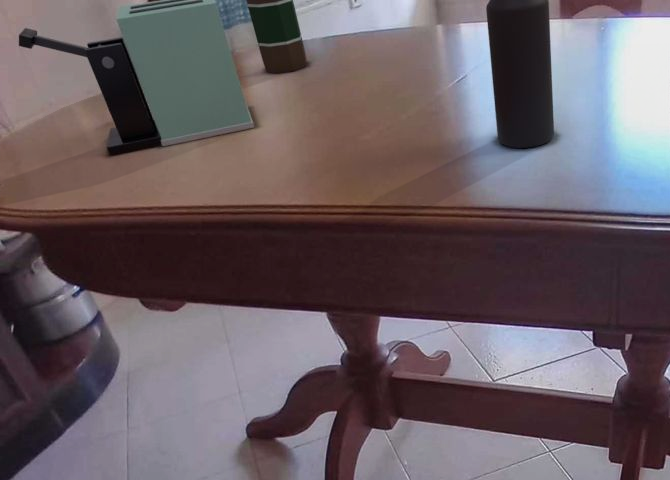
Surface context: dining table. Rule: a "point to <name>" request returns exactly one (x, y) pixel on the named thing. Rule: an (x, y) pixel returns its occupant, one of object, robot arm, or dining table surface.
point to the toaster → (185, 68)
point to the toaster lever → (49, 43)
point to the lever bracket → (122, 97)
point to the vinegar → (521, 71)
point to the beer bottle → (278, 35)
